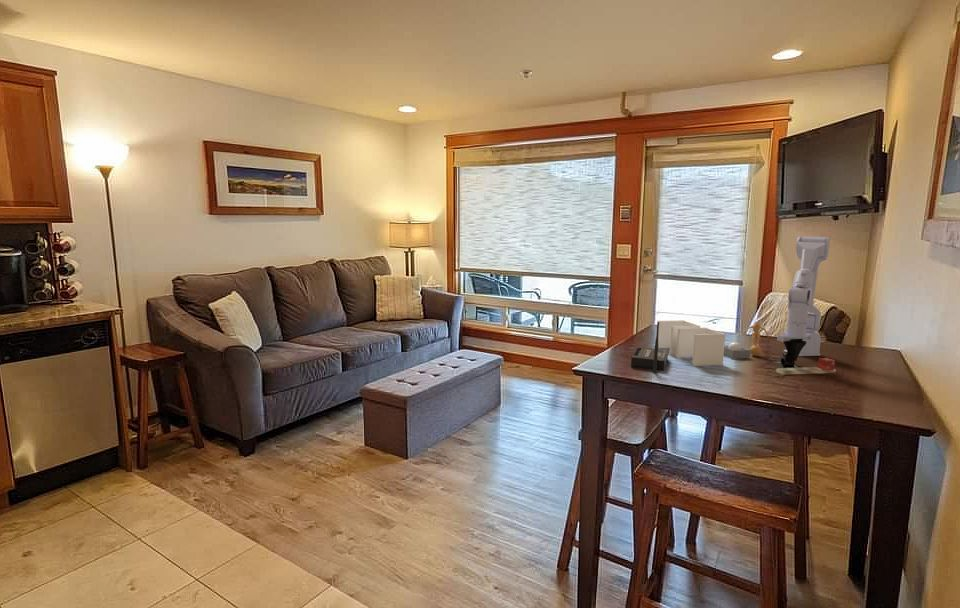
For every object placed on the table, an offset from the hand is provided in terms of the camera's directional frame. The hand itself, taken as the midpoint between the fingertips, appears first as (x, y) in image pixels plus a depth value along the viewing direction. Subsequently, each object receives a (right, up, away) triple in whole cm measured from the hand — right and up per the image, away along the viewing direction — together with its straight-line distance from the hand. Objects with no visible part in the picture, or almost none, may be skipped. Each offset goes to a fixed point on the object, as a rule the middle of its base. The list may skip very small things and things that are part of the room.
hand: (792, 360), depth 176 cm
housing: (-15, 0, +11) cm, 18 cm away
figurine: (-7, 0, +12) cm, 14 cm away
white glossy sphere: (-15, +1, +10) cm, 18 cm away
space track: (-1, -3, -10) cm, 10 cm away
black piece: (-3, -2, -2) cm, 4 cm away
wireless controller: (-51, -2, -3) cm, 51 cm away
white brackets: (-33, 0, +9) cm, 34 cm away
